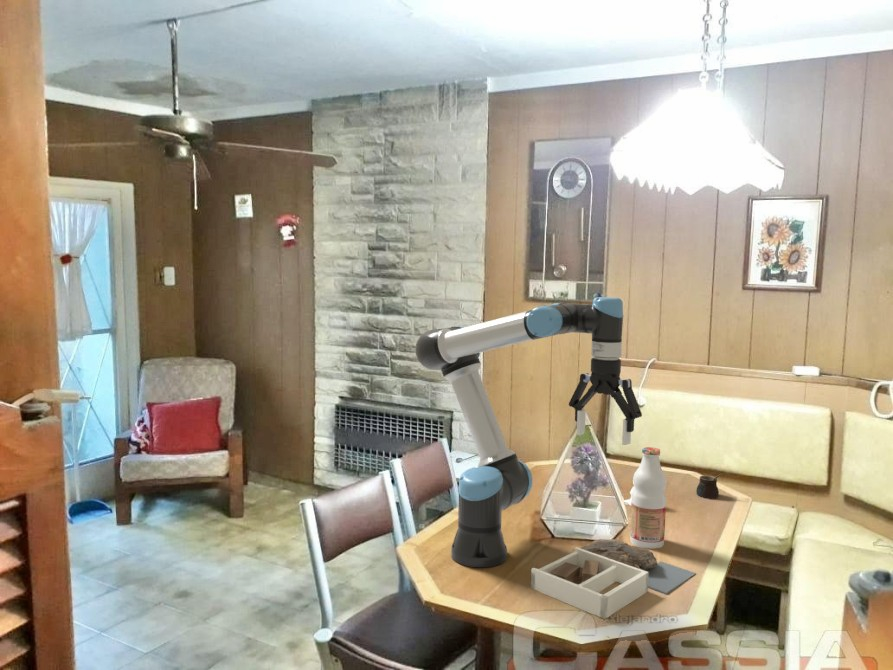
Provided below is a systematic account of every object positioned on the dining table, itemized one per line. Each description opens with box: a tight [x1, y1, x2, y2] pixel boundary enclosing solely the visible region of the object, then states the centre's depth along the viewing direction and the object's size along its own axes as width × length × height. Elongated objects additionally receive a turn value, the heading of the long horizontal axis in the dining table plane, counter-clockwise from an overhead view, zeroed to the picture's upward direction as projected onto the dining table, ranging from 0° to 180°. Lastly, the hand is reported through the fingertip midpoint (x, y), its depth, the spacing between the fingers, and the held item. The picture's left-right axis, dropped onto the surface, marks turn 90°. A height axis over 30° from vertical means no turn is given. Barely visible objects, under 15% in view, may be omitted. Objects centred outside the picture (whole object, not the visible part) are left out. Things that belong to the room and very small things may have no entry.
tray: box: [530, 546, 649, 620], centre depth 174 cm, size 21×19×5 cm
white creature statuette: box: [624, 480, 635, 507], centre depth 232 cm, size 10×9×12 cm
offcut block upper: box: [581, 560, 599, 583], centre depth 178 cm, size 4×8×4 cm
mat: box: [645, 561, 697, 595], centre depth 181 cm, size 10×16×1 cm, turn 135°
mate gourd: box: [695, 473, 722, 500], centre depth 242 cm, size 7×8×10 cm
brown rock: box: [580, 538, 659, 571], centre depth 189 cm, size 14×5×20 cm
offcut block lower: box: [551, 562, 581, 583], centre depth 178 cm, size 4×8×4 cm, turn 144°
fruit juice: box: [629, 446, 667, 550], centre depth 202 cm, size 9×9×28 cm
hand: (602, 439), depth 183 cm, fingers open, 13 cm apart
